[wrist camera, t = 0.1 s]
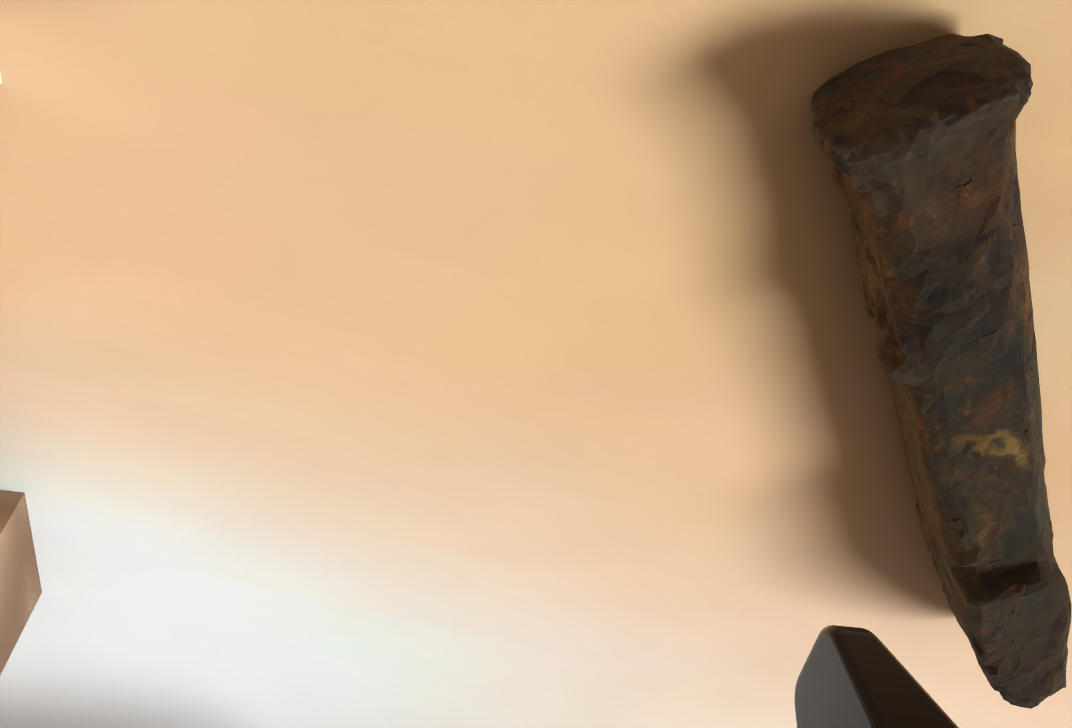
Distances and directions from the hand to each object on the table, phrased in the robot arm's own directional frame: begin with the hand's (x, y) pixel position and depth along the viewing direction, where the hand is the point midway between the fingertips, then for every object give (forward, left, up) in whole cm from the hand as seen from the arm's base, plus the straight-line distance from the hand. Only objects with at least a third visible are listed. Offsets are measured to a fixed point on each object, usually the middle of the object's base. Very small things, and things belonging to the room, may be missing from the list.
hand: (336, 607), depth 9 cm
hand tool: (-6, -14, -15) cm, 22 cm away
